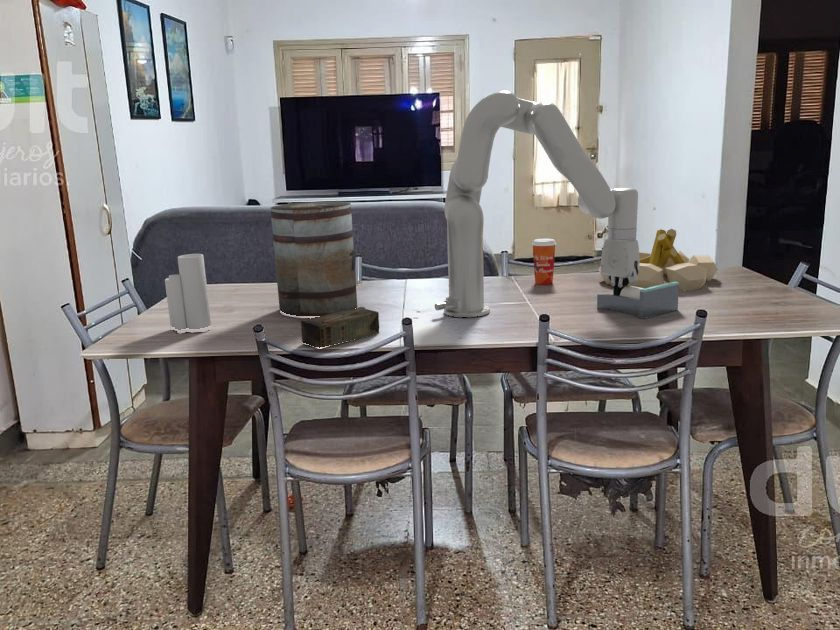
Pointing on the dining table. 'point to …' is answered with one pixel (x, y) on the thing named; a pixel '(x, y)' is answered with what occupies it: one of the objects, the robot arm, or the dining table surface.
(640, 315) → the holder
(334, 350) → the dining table surface
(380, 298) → the dining table surface
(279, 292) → the barrel
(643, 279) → the campfire
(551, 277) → the paper cup
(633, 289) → the roll
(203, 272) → the vase
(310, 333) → the olive brown box
